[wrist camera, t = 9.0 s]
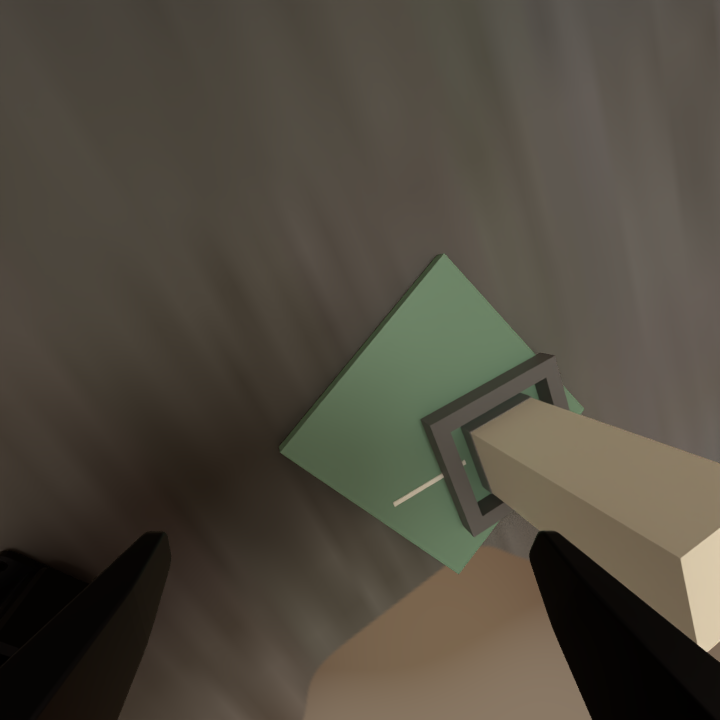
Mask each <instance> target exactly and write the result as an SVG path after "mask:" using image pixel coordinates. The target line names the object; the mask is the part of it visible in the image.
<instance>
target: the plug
mask: <svg viewBox="0 0 720 720" xmlns="http://www.w3.org/2000/svg"><path fill="white" fill-rule="evenodd" d="M461 430H462V432H463V435H464V438H465V441H466V443H467V446H468V449H469V451H470V454H471V457H472V460H473V462H474V465H475V468H476V471H477V473H478V476H479V479H480V481H481V484H482V487H484V488H485V489H486V490H487V491H489V492H490V493H491V494H494V495H495V496H497V497H498V498H499V499H500V500H502V501H503V502H504V503H506V504H507V505H508V506H509V507H511V508H512V509H513V510H514V511H516V512H517V513H518V514H519V515H521V516H522V517H523V518H524V519H526V520H527V521H528V522H529V523H531V524H532V525H533V526H534V527H536V528H537V529H538V530H540V531H543V530H552V531H556V532H558V533H560V534H561V535H562V536H564V537H565V538H566V539H567V540H568V541H570V542H571V543H572V544H573V545H575V546H576V547H577V548H578V549H580V550H581V551H582V552H583V553H585V554H586V555H587V556H588V557H590V558H591V559H592V560H593V561H595V562H596V563H597V564H598V565H599V566H601V567H602V568H603V569H604V570H606V571H607V572H608V573H609V574H611V575H612V576H613V577H614V578H616V579H617V580H618V581H619V582H621V583H622V584H623V585H624V586H626V587H627V588H628V589H629V590H631V591H632V592H633V593H634V594H635V595H637V596H638V597H639V598H640V599H642V600H643V601H644V602H645V603H647V604H648V605H649V606H650V607H652V608H653V609H654V610H655V611H657V612H658V613H659V614H660V615H662V616H663V617H664V618H665V619H666V620H668V621H669V622H670V623H671V624H673V625H674V626H675V627H676V628H678V629H679V630H680V631H681V632H683V633H684V634H685V635H686V636H688V637H689V638H690V639H691V640H693V641H694V642H695V643H696V644H698V645H699V646H700V647H701V648H702V649H704V650H705V651H706V652H708V651H709V650H710V649H711V648H712V647H714V646H715V645H716V644H717V643H718V642H719V641H720V463H717V462H714V461H711V460H709V459H706V458H703V457H700V456H697V455H694V454H691V453H688V452H686V451H683V450H680V449H677V448H674V447H671V446H668V445H666V444H663V443H660V442H657V441H654V440H651V439H648V438H645V437H643V436H640V435H637V434H634V433H631V432H628V431H625V430H623V429H620V428H617V427H614V426H611V425H608V424H605V423H602V422H600V421H597V420H594V419H591V418H588V417H585V416H582V415H579V414H577V413H574V412H571V411H568V410H565V409H562V408H559V407H557V406H554V405H551V404H548V403H545V402H542V401H539V400H536V399H534V398H532V397H531V396H528V395H526V394H523V393H518V394H517V395H515V396H513V397H511V398H510V399H508V400H506V401H504V402H503V403H501V404H499V405H497V406H496V407H494V408H492V409H490V410H489V411H487V412H485V413H483V414H482V415H480V416H478V417H476V418H475V419H473V420H471V421H470V422H468V423H466V424H464V425H463V426H461Z"/></svg>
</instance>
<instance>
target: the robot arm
mask: <svg viewBox="0 0 720 720" xmlns="http://www.w3.org/2000/svg"><path fill="white" fill-rule="evenodd" d="M529 558H530V563H531V566H532V569H533V572H534V575H535V578H536V581H537V584H538V586H539V590H540V593H541V596H542V598H543V602H544V604H545V607H546V611H547V613H548V617H549V619H550V622H551V625H552V628H553V630H554V632H555V635H556V637H557V640H558V642H559V644H560V647H561V649H562V651H563V654H564V656H565V658H566V661H567V662H568V665H569V668H570V670H571V672H572V674H573V677H574V679H575V681H576V684H577V686H578V688H579V691H580V693H581V695H582V698H583V700H584V702H585V704H586V706H587V709H588V711H589V714H590V716H591V718H592V720H720V662H719V661H717V660H716V659H715V658H714V657H712V656H711V655H710V654H709V653H707V652H706V651H705V650H704V649H702V648H701V647H700V646H699V645H698V644H696V643H695V642H694V641H693V640H691V639H690V638H689V637H688V636H686V635H685V634H684V633H683V632H681V631H680V630H679V629H678V628H676V627H675V626H674V625H673V624H671V623H670V622H669V621H668V620H666V619H665V618H664V617H663V616H662V615H660V614H659V613H658V612H657V611H655V610H654V609H653V608H652V607H650V606H649V605H648V604H647V603H645V602H644V601H643V600H642V599H640V598H639V597H638V596H637V595H635V594H634V593H633V592H632V591H631V590H629V589H628V588H627V587H626V586H624V585H623V584H622V583H621V582H619V581H618V580H617V579H616V578H614V577H613V576H612V575H611V574H609V573H608V572H607V571H606V570H604V569H603V568H602V567H601V566H599V565H598V564H597V563H596V562H595V561H593V560H592V559H591V558H590V557H588V556H587V555H586V554H585V553H583V552H582V551H581V550H580V549H578V548H577V547H576V546H575V545H573V544H572V543H571V542H570V541H568V540H567V539H566V538H565V537H564V536H562V535H561V534H560V533H558V532H556V531H552V530H543V531H540V532H538V534H537V536H536V538H535V540H534V543H533V545H532V547H531V549H530V553H529ZM0 561H3V562H6V563H7V564H8V565H7V566H5V565H2V564H1V563H0V720H118V717H119V715H120V712H121V710H122V707H123V705H124V702H125V699H126V697H127V694H128V692H129V689H130V687H131V684H132V682H133V679H134V677H135V674H136V672H137V669H138V667H139V664H140V661H141V659H142V656H143V654H144V651H145V648H146V646H147V643H148V640H149V636H150V633H151V630H152V627H153V623H154V620H155V616H156V613H157V609H158V606H159V602H160V599H161V595H162V592H163V588H164V585H165V582H166V578H167V575H168V571H169V568H170V563H171V552H170V547H169V541H168V536H167V534H166V532H163V531H150V532H146V533H145V534H143V535H142V536H141V537H140V538H139V539H138V540H137V541H136V542H134V543H133V544H132V545H131V546H130V547H129V548H128V549H127V550H126V551H125V552H124V553H123V554H122V555H120V556H119V557H118V558H117V559H116V560H115V561H114V562H113V563H112V564H111V565H110V566H109V567H107V568H106V569H105V570H104V571H103V572H102V573H101V574H100V575H99V576H98V577H97V578H96V579H95V580H93V581H92V582H91V583H90V584H87V583H84V582H82V581H80V580H77V579H75V578H73V577H71V576H68V575H66V574H64V573H61V572H59V571H57V570H55V569H52V568H50V567H48V566H45V565H43V564H41V563H39V562H36V561H34V560H32V559H29V558H27V557H25V556H23V555H20V554H18V553H16V552H13V551H2V552H0Z"/></svg>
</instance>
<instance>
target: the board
mask: <svg viewBox="0 0 720 720" xmlns="http://www.w3.org/2000/svg"><path fill="white" fill-rule="evenodd" d="M518 393H523V394H526V395H528V396H531V397H532V398H534V399H536V400H539V401H542V402H545V403H548V404H551V405H554V406H557V407H559V408H562V409H565V410H568V411H571V412H574V413H577V414H579V415H580V414H581V413H582V412H583V411H584V408H583V407H582V406H581V405H580V404H579V402H578V401H577V400H576V399H575V398H574V397H573V396H572V395H571V394H570V392H569V391H568V390H567V389H566V388H565V387H564V386H563V383H562V380H561V376H560V372H559V369H558V365H557V361H556V357H555V356H554V355H549V354H544V353H539V354H537V355H535V354H534V353H533V351H532V350H531V349H530V348H529V347H528V346H527V345H526V344H525V343H524V341H523V340H522V339H521V338H520V337H519V336H518V335H517V334H516V333H515V331H514V330H513V329H512V328H511V327H510V326H509V325H508V324H507V323H506V321H505V320H504V319H503V318H502V317H501V316H500V315H499V314H498V313H497V311H496V310H495V309H494V308H493V307H492V306H491V305H490V304H489V303H488V301H487V300H486V299H485V298H484V297H483V296H482V295H481V294H480V293H479V291H478V290H477V289H476V288H475V287H474V286H473V285H472V284H471V283H470V282H469V280H468V279H467V278H466V277H465V276H464V275H463V274H462V273H461V272H460V270H459V269H458V268H457V267H456V266H455V265H454V264H453V263H452V262H451V260H450V259H449V258H448V257H447V256H446V255H445V254H440V255H437V256H436V257H435V258H434V259H433V261H432V262H431V263H430V264H429V266H428V267H427V268H426V269H425V270H424V272H423V273H422V274H421V275H420V276H419V278H418V279H417V280H416V281H415V282H414V284H413V285H412V286H411V287H410V289H409V290H408V291H407V292H406V293H405V295H404V296H403V297H402V298H401V299H400V301H399V302H398V303H397V304H396V305H395V307H394V308H393V309H392V310H391V312H390V313H389V314H388V315H387V316H386V318H385V319H384V320H383V321H382V322H381V324H380V325H379V326H378V327H377V328H376V330H375V331H374V332H373V333H372V335H371V336H370V337H369V338H368V339H367V341H366V342H365V343H364V344H363V345H362V347H361V348H360V349H359V350H358V351H357V353H356V354H355V355H354V356H353V358H352V359H351V360H350V361H349V362H348V364H347V365H346V366H345V367H344V368H343V370H342V371H341V372H340V373H339V374H338V376H337V377H336V378H335V379H334V381H333V382H332V383H331V384H330V385H329V387H328V388H327V389H326V390H325V391H324V393H323V394H322V395H321V396H320V397H319V399H318V400H317V401H316V402H315V404H314V405H313V406H312V407H311V408H310V410H309V411H308V412H307V413H306V414H305V416H304V417H303V418H302V419H301V420H300V422H299V423H298V424H297V425H296V427H295V428H294V429H293V430H292V431H291V433H290V434H289V435H288V436H287V437H286V439H285V440H284V441H283V442H282V444H281V445H280V446H279V450H280V453H281V454H283V455H284V456H286V457H287V458H289V459H290V460H292V461H293V462H295V463H296V464H297V465H299V466H300V467H302V468H303V469H305V470H306V471H308V472H309V473H311V474H312V475H314V476H315V477H317V478H318V479H320V480H321V481H322V482H324V483H325V484H327V485H328V486H330V487H331V488H333V489H334V490H336V491H337V492H339V493H340V494H342V495H343V496H345V497H346V498H347V499H349V500H350V501H352V502H353V503H355V504H356V505H358V506H359V507H361V508H362V509H364V510H365V511H367V512H368V513H369V514H371V515H372V516H374V517H375V518H377V519H378V520H380V521H381V522H383V523H384V524H386V525H387V526H389V527H390V528H392V529H393V530H394V531H396V532H397V533H399V534H400V535H402V536H403V537H405V538H406V539H408V540H409V541H411V542H412V543H414V544H415V545H416V546H418V547H419V548H421V549H422V550H424V551H425V552H427V553H428V554H430V555H431V556H433V557H434V558H436V559H437V560H439V561H440V562H441V563H443V564H444V565H446V566H447V567H449V568H450V569H452V570H453V571H455V572H456V573H458V574H459V573H460V572H461V571H462V569H463V568H464V567H465V565H466V564H467V563H468V561H469V560H470V559H471V557H472V556H473V555H474V554H475V552H476V551H477V550H478V548H479V547H480V546H481V544H482V543H483V542H484V540H485V539H486V538H487V536H488V535H489V534H490V533H491V531H492V530H493V529H494V527H495V526H496V525H497V523H498V522H499V521H500V520H502V519H503V518H505V517H506V516H508V515H509V514H511V513H512V512H514V510H513V509H512V508H511V507H509V506H508V505H507V504H506V503H504V502H503V501H502V500H500V499H499V498H498V497H497V496H495V495H494V494H491V493H490V492H489V491H487V490H486V489H485V488H484V487H482V484H481V481H480V479H479V476H478V473H477V471H476V468H475V465H474V462H473V460H472V457H471V454H470V451H469V449H468V446H467V443H466V441H465V438H464V435H463V432H462V430H461V426H463V425H464V424H466V423H468V422H470V421H471V420H473V419H475V418H476V417H478V416H480V415H482V414H483V413H485V412H487V411H489V410H490V409H492V408H494V407H496V406H497V405H499V404H501V403H503V402H504V401H506V400H508V399H510V398H511V397H513V396H515V395H517V394H518Z"/></svg>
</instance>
